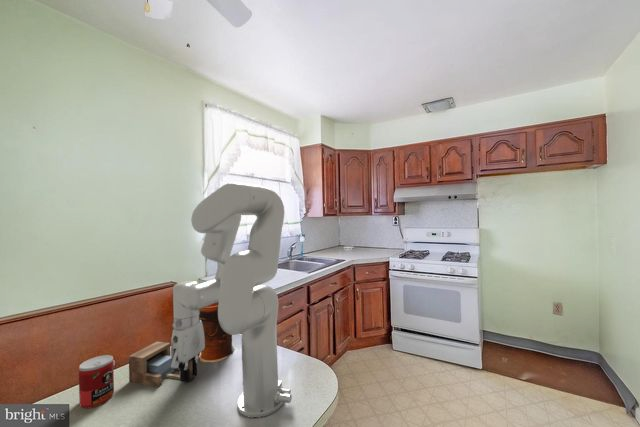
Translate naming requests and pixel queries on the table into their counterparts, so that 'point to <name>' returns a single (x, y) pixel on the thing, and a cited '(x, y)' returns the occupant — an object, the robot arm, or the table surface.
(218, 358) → the vessel
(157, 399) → the table surface
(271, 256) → the robot arm
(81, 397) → the canned food
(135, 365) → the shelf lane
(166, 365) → the knob-handled block
